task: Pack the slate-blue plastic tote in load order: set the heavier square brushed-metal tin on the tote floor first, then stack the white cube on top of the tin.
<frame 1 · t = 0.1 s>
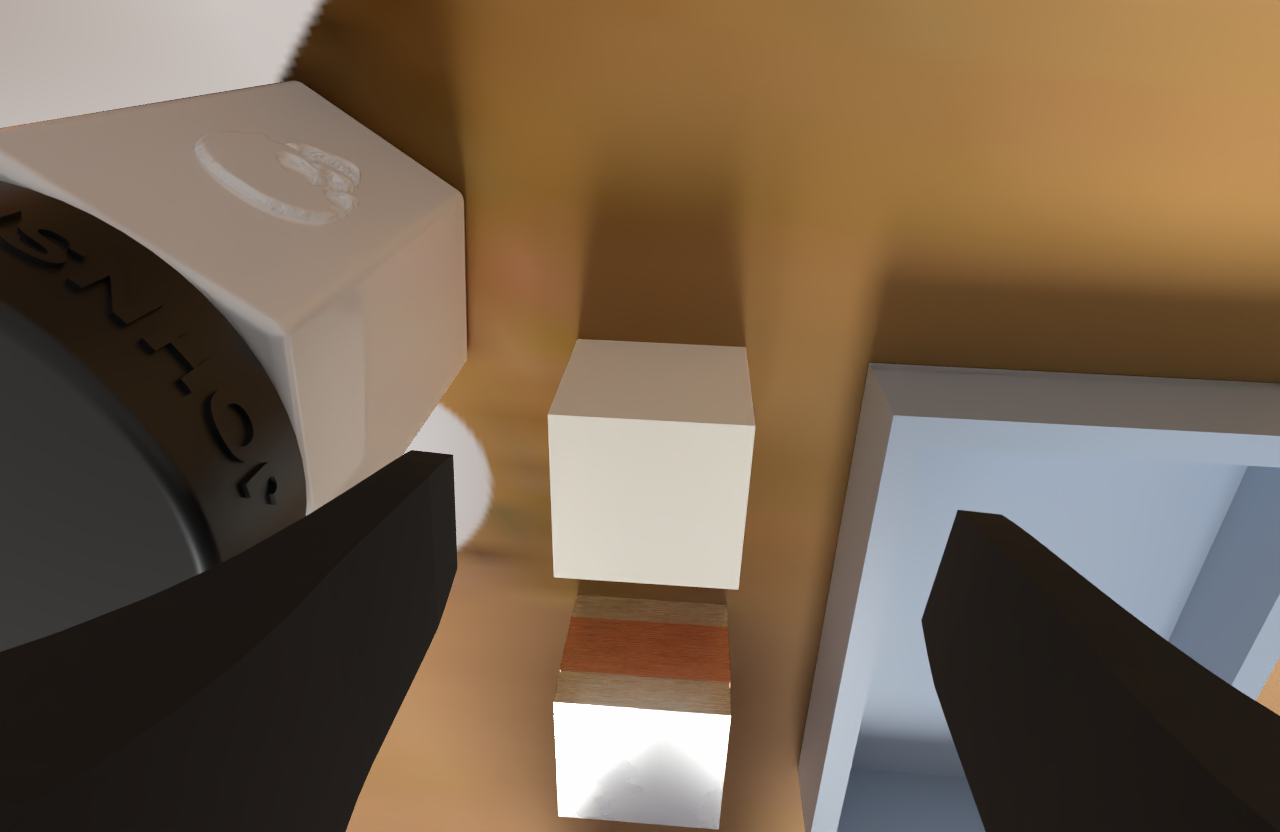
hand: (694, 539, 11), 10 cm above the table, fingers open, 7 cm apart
jar: (324, 262, 20), on the table
white cube: (658, 416, 22), on the table
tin: (649, 652, 26), on the table
tote: (1008, 609, 24), on the table
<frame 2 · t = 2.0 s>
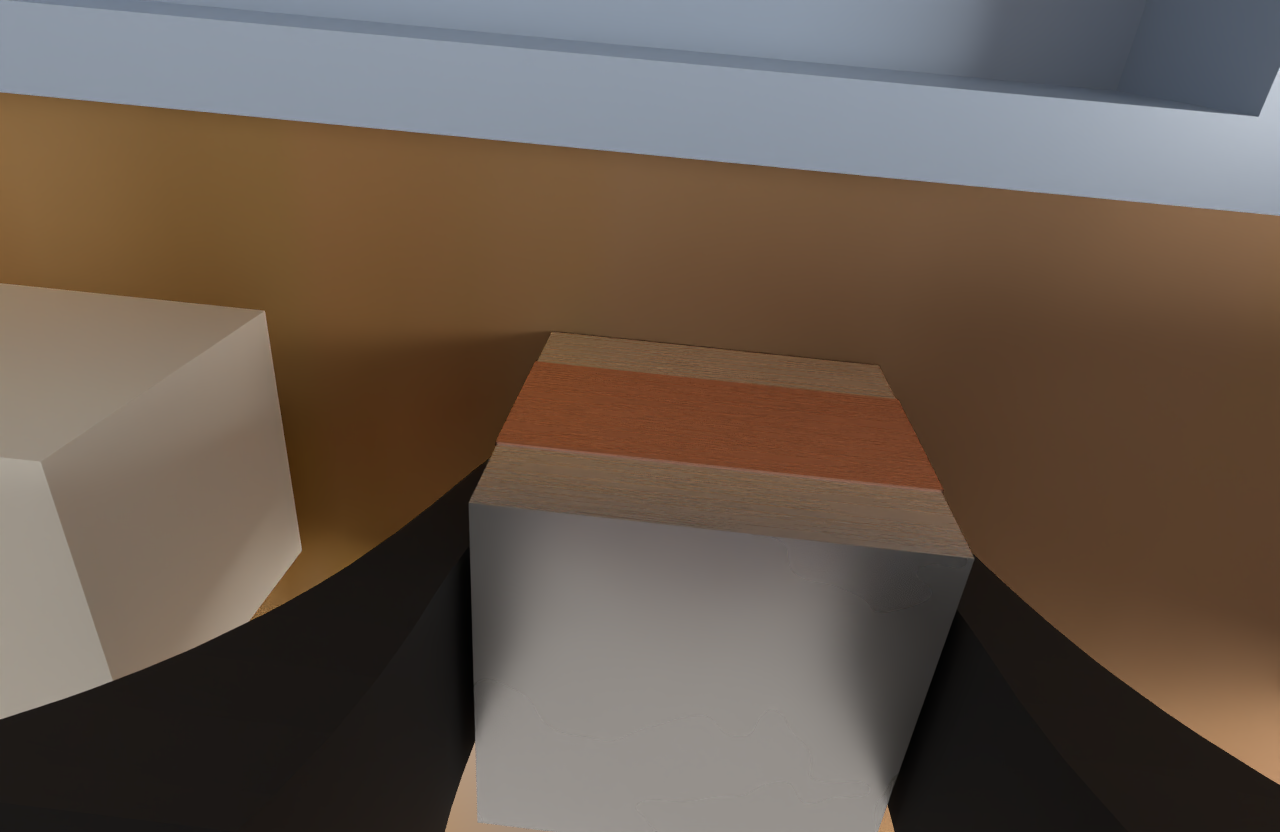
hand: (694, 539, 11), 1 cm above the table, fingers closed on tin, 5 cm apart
white cube: (154, 423, 13), on the table
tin: (695, 486, 12), on the table, touching gripper
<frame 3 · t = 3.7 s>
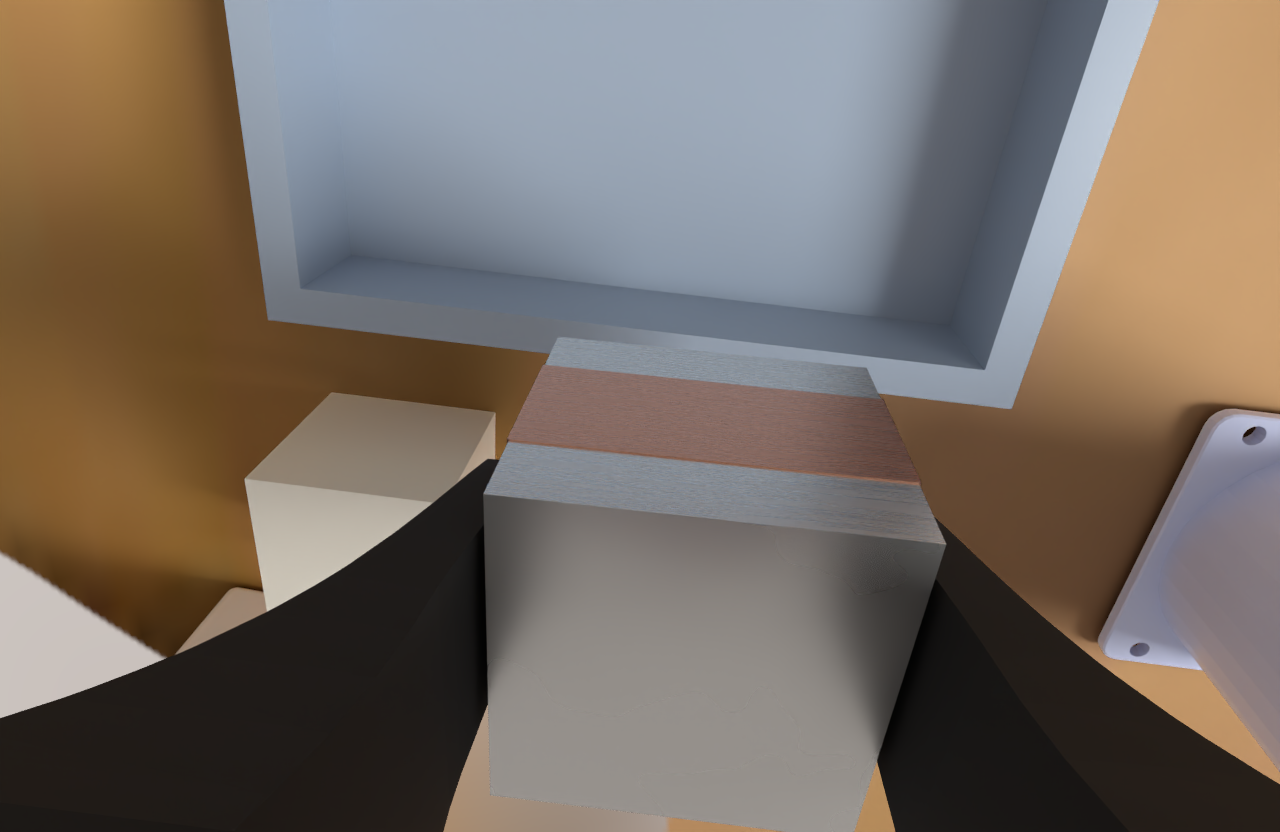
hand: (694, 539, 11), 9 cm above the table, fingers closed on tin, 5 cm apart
jar: (313, 678, 26), on the table
white cube: (417, 471, 22), on the table
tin: (694, 482, 13), point 7 cm above the table, touching gripper
tote: (670, 74, 17), on the table
when the fingers open (3 cm above the table, at t = 5.6 s): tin stays where it is, resting on tote.
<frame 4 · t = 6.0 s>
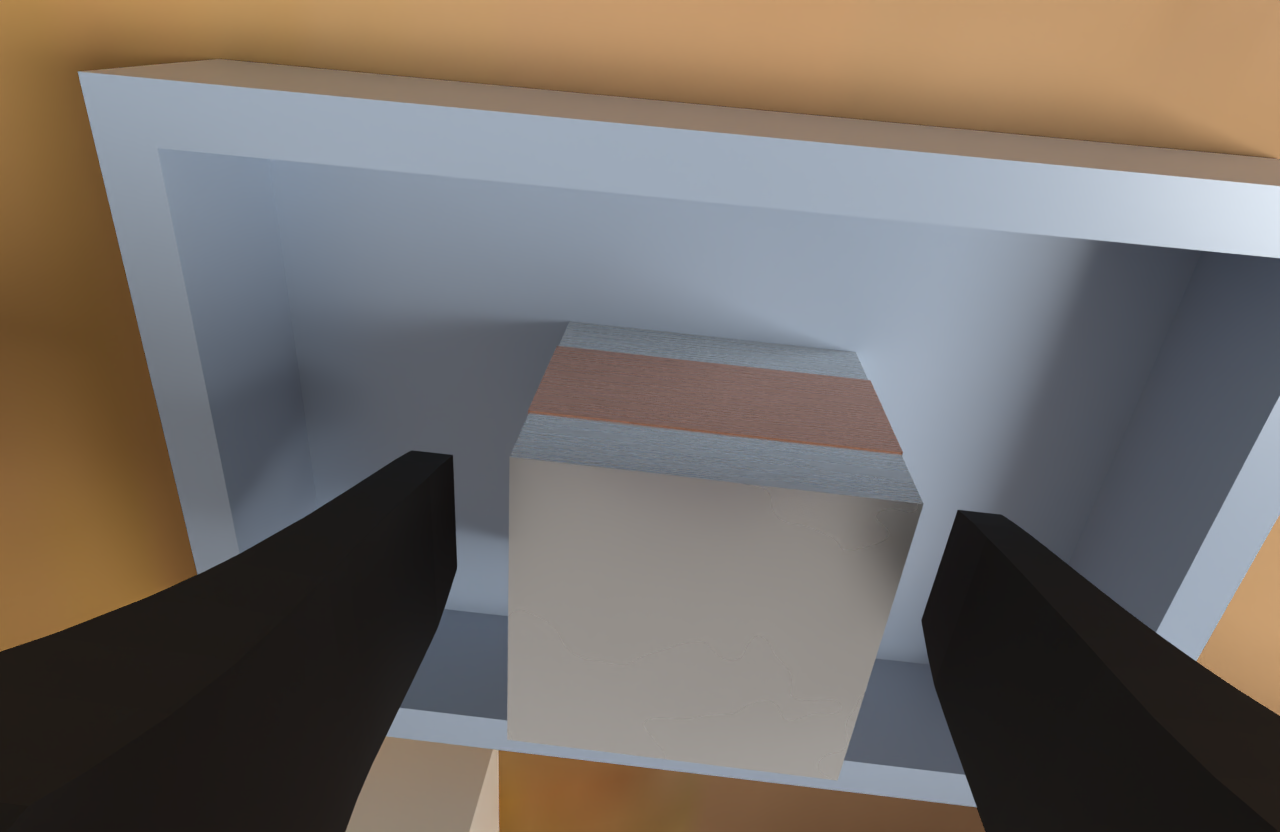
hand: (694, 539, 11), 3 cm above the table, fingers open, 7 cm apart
white cube: (411, 778, 20), on the table
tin: (694, 459, 14), resting on tote
tote: (697, 427, 14), on the table
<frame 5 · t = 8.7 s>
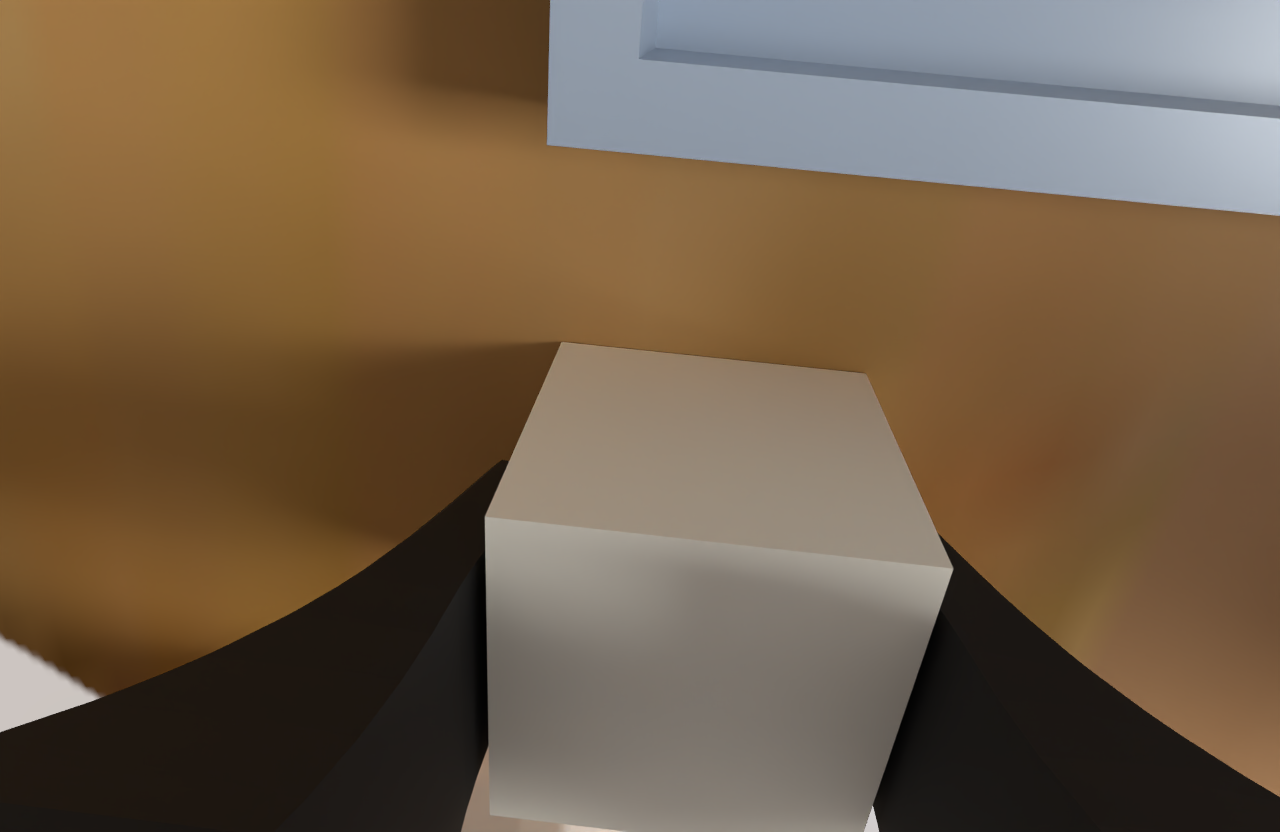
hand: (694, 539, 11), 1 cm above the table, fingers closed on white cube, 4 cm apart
jar: (467, 805, 17), on the table
white cube: (695, 485, 12), on the table, touching gripper
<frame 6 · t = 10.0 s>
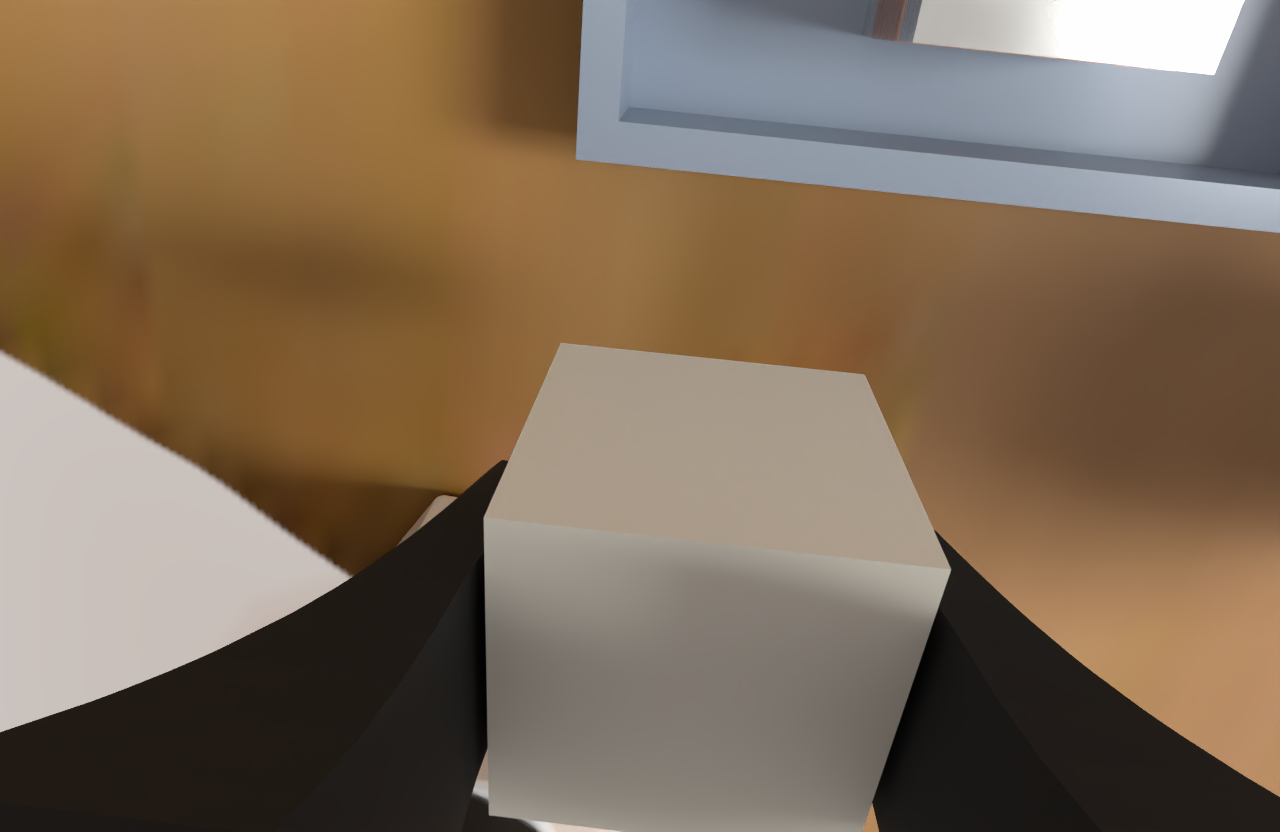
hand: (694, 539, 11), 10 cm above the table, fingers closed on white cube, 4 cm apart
jar: (507, 597, 25), on the table
white cube: (694, 486, 12), point 8 cm above the table, touching gripper
when the fingers open (8 cm above the table, at t = 11.5 s): white cube drops 1 cm, resting on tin.
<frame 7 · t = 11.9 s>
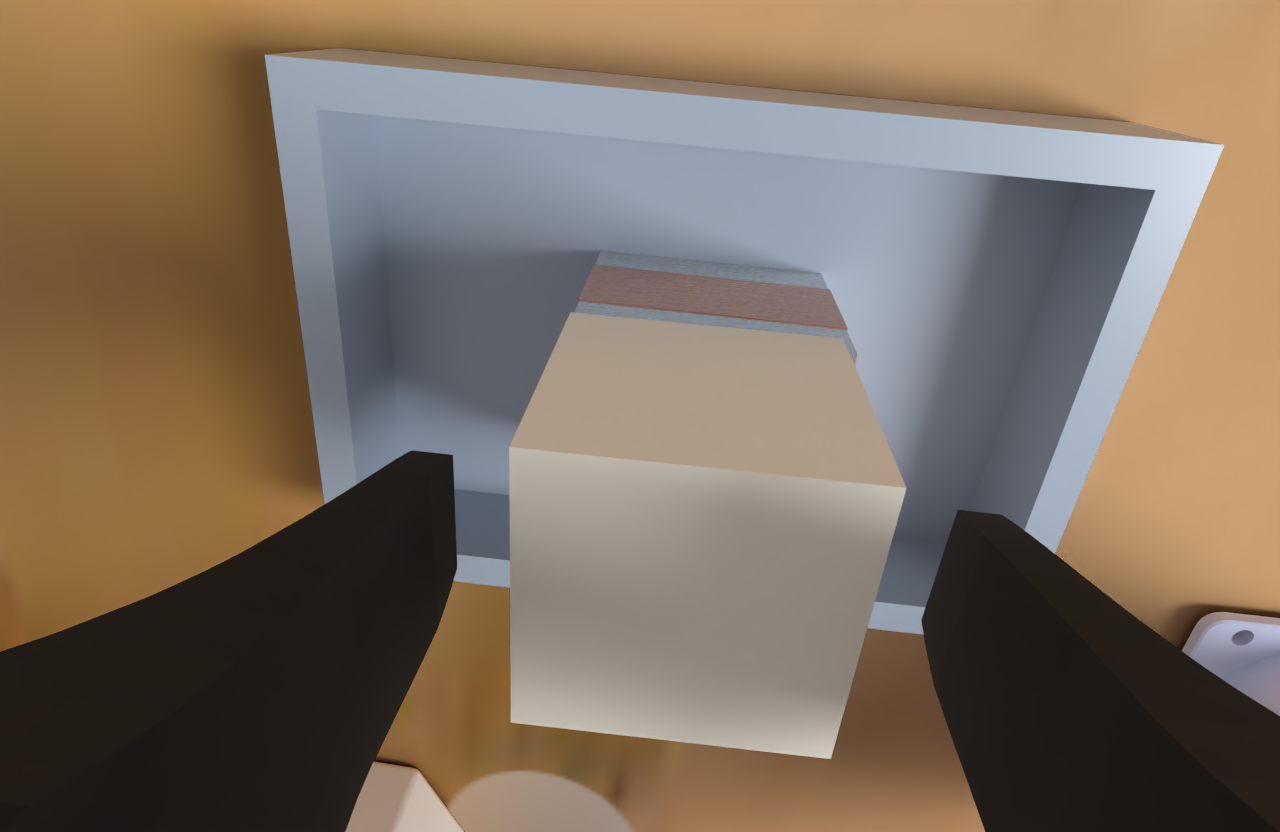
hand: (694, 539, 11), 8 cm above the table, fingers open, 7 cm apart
jar: (359, 821, 28), on the table
white cube: (691, 443, 14), point 5 cm above the table, touching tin
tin: (697, 362, 18), resting on tote, touching white cube
tote: (698, 338, 18), on the table
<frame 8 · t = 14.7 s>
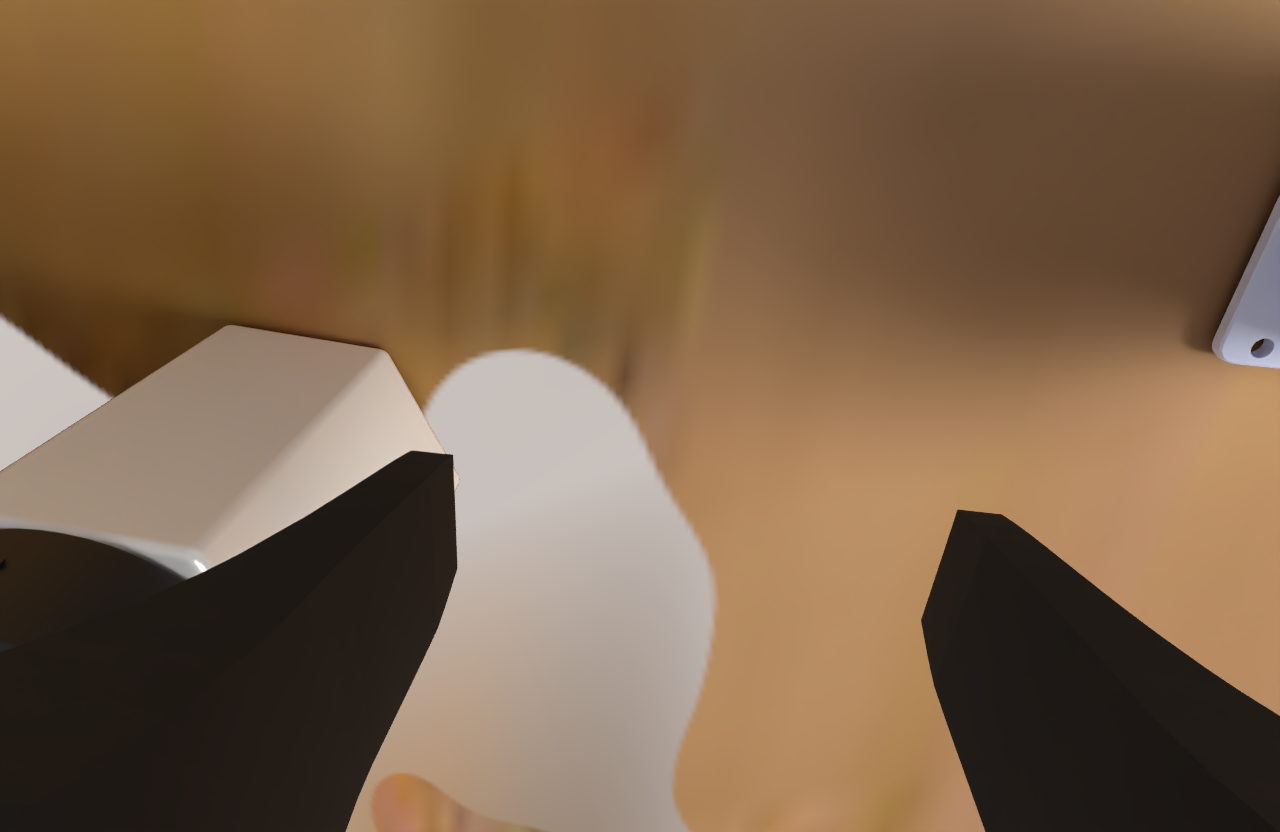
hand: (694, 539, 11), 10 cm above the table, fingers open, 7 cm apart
jar: (319, 449, 24), on the table
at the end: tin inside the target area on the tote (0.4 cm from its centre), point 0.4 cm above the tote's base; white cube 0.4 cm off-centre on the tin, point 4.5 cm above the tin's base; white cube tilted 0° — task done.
